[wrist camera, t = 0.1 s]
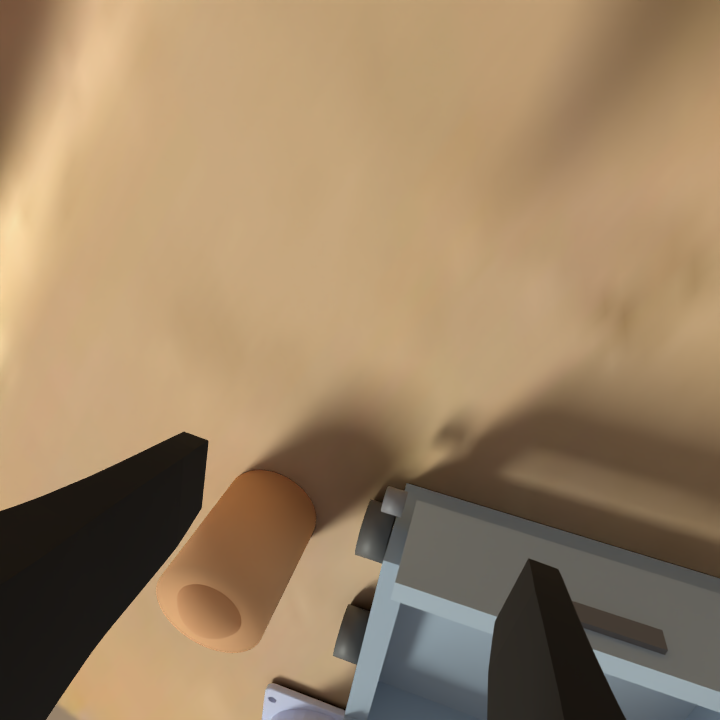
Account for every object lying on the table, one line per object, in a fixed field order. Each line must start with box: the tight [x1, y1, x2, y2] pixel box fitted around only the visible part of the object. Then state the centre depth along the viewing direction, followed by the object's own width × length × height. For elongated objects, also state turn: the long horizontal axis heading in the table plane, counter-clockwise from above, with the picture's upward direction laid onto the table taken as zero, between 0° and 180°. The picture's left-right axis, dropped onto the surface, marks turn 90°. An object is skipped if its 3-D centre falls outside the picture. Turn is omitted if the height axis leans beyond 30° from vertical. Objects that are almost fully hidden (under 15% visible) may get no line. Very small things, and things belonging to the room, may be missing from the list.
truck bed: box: [333, 483, 720, 720], centre depth 22 cm, size 12×17×6 cm
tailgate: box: [391, 500, 720, 713], centre depth 17 cm, size 1×13×4 cm, turn 81°
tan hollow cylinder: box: [156, 470, 316, 653], centre depth 23 cm, size 5×5×7 cm
